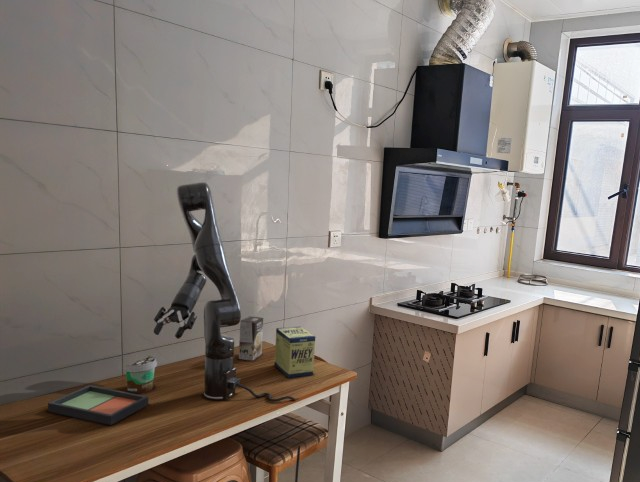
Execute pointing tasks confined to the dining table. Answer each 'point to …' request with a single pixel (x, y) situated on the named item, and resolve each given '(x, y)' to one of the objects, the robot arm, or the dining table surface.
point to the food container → (141, 375)
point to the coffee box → (250, 338)
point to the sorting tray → (98, 404)
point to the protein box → (294, 351)
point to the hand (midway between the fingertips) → (166, 335)
